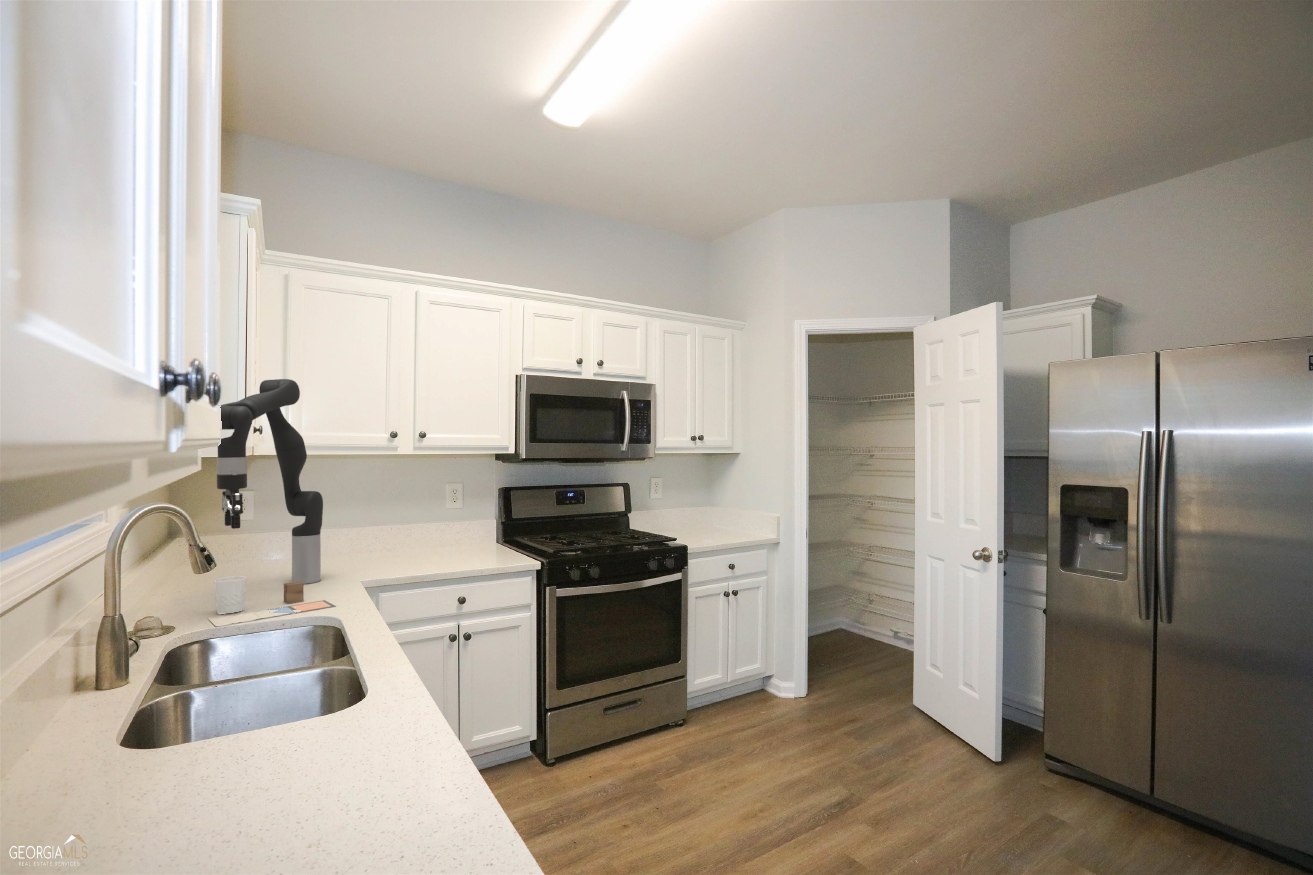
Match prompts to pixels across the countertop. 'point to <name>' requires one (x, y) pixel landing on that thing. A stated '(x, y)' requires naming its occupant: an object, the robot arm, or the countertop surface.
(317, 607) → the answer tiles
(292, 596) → the walnut block
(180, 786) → the countertop surface
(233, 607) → the white cup
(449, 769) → the countertop surface
